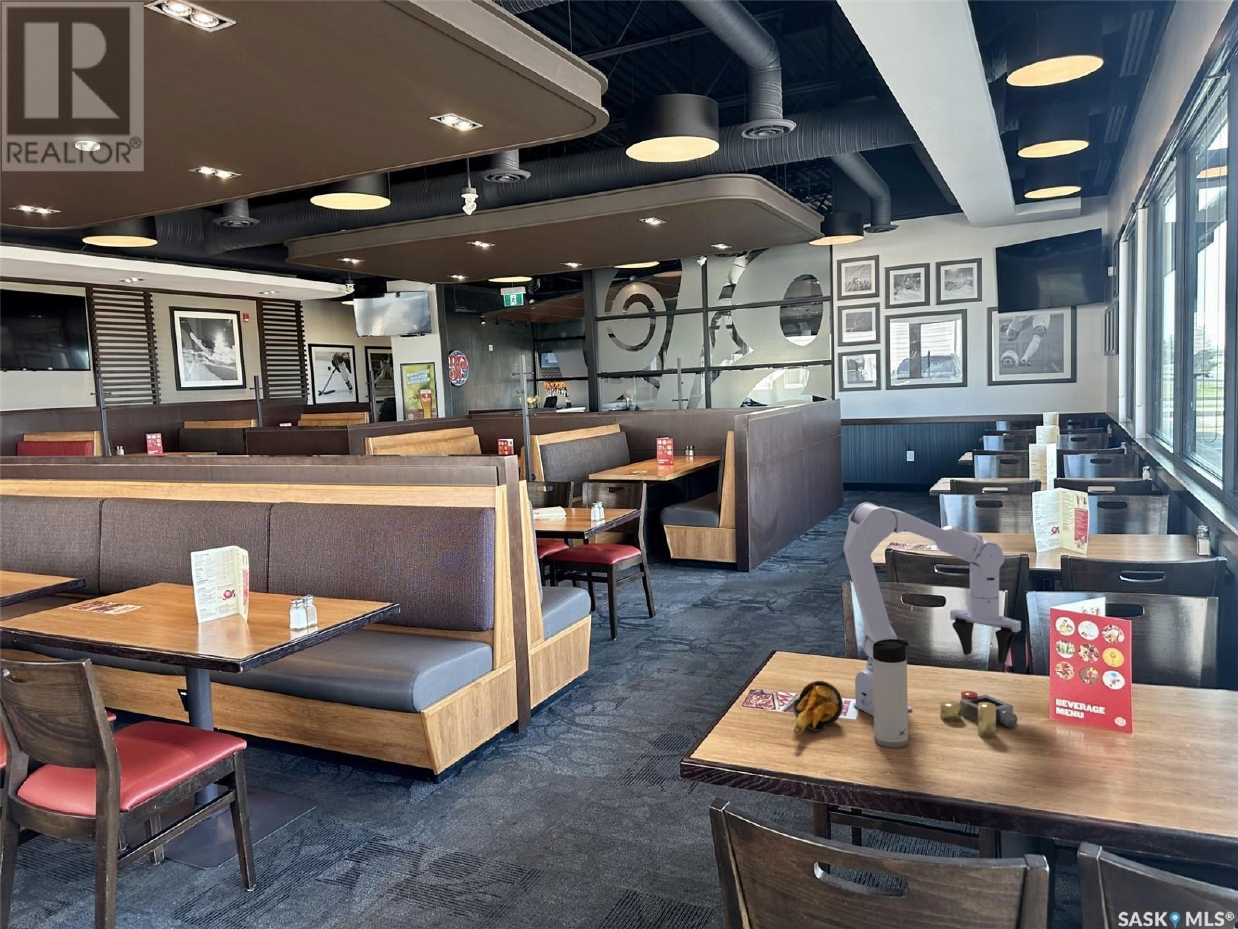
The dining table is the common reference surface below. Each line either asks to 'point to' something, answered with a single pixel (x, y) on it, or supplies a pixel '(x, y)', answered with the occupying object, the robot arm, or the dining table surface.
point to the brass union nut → (950, 711)
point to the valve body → (1002, 709)
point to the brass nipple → (986, 720)
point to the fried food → (817, 707)
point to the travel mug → (890, 693)
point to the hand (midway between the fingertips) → (984, 657)
